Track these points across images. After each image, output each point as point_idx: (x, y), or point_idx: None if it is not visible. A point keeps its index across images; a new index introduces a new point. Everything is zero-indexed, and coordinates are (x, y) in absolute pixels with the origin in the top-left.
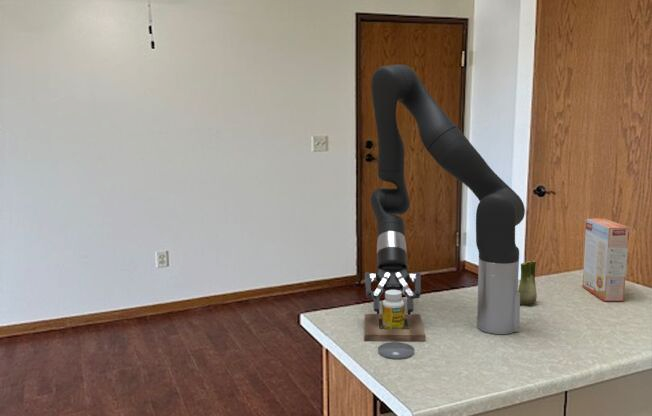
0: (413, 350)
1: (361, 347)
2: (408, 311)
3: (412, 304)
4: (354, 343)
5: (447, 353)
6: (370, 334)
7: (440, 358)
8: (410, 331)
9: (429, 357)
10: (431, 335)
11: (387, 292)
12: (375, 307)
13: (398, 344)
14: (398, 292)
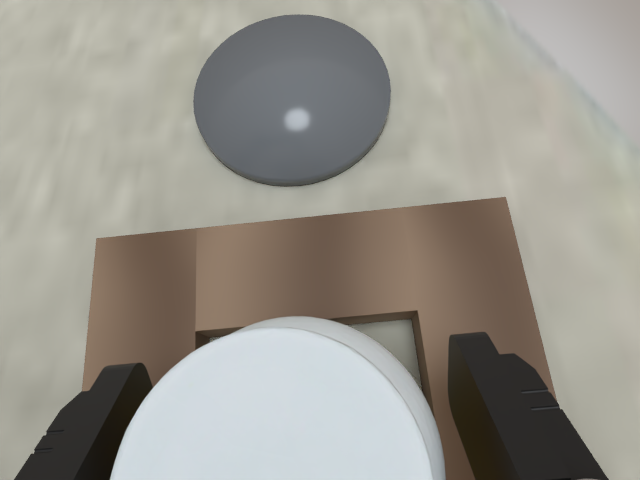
0: (199, 87)
1: (488, 126)
2: (139, 367)
3: (51, 440)
4: (543, 172)
5: (34, 119)
6: (464, 205)
7: (82, 65)
8: (188, 293)
9: (132, 67)
10: (60, 359)
11: (383, 455)
12: (511, 369)
13: (278, 147)
14: (167, 473)
